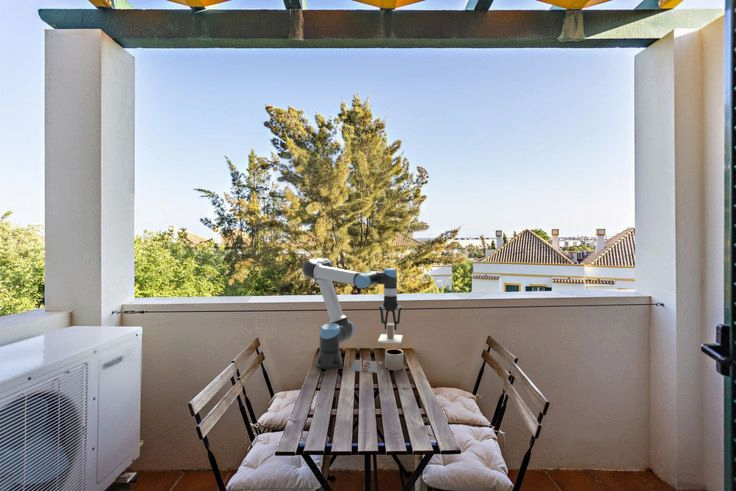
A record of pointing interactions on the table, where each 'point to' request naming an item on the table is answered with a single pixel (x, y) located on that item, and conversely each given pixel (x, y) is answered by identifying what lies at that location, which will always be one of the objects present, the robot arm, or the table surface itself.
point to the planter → (394, 359)
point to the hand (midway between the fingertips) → (390, 335)
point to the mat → (356, 367)
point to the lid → (390, 336)
